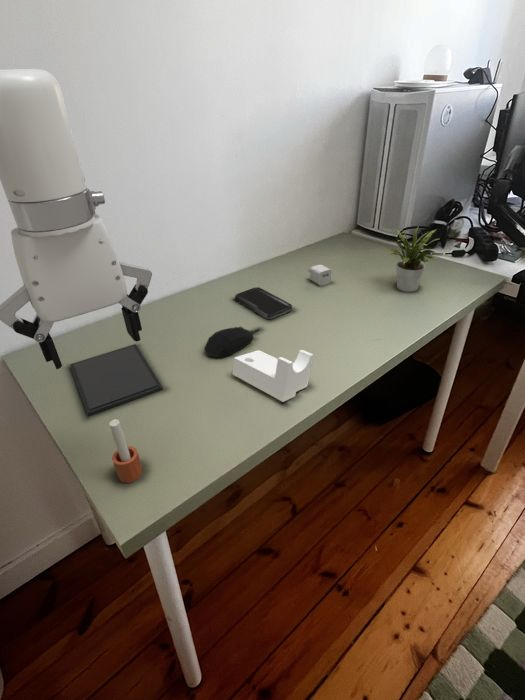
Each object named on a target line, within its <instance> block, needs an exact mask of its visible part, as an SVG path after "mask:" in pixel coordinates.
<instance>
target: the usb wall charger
mask: <svg viewBox="0 0 525 700" xmlns="http://www.w3.org/2000/svg"><path fill="white" fill-rule="evenodd" d="M307 272H308V273H310V274H309V280H310V281H312V282H314V283H315V284H317V285H319V286H321V287H322V286H325V285H327V284H330V283H331V282H332V272H333V271H332V269H331V268H329V267H327V266H325V265H323V264H320V263H319V264H317V265H313V266H311V267H310V269H309V268H307Z"/></svg>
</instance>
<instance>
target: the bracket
mask: <svg viewBox="0 0 525 700" xmlns="http://www.w3.org/2000/svg"><path fill="white" fill-rule="evenodd" d="M313 360H314V354H313V353H311V352H309V351H306V350H304V349H300V350H299V351H298V354H297V357H296V359H295V360H294V361H291V360H289V359H287V358H285V357H283V356H279V357H278V358H276V357H274V356H273V355H270V354H268V353H266V352H264V351H262V350H260V349H258V350H253V351H250V352H248V353H245V354H241V355H238V356H235V357H233V364H232V372H231V374H232V375H233V376H235V377H236V378H238V379H240V380H241V381H243V382H245V383H247V384H249V385H251V386H252V387H255V388H256V389H259V390H260V391H262V392H264V393H265V394H268V395H269V396H271V397H273V398H275V399H277V400H278V401H281V402H282V403H284V402H286V401H289V400H290V399H293V398H294V397H296V393H297V392H299V391H300V390H303V389H305V388H308V387H309V381H310V375H311V372H312V371H311V370H312V367H313V366H312V365H313Z"/></svg>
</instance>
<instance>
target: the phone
mask: <svg viewBox="0 0 525 700" xmlns="http://www.w3.org/2000/svg"><path fill="white" fill-rule="evenodd" d="M234 299H235V301H236V302H238V303H239V304H241V305H243V306H245V308H248V309H249V310H250V311H253V312H254V313H256V314H257V315H259V316H261V317H262V318H264V319H266V320H274V319H276V318H278V317H281V316H282V315H285V314H288V313H290V312H292V310H293V305H292V304H291V303H289V302H287V301H286V300H283V299H282V298H280V297H278V296H276V295H275V294H272V293H270V292H269V291H267V290H265V289H263V288H261V287H259V286H256V287H251V288H250V289H247V290H244V291H241V292H239V293H236V294H235V295H234Z"/></svg>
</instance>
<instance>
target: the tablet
mask: <svg viewBox="0 0 525 700" xmlns="http://www.w3.org/2000/svg"><path fill="white" fill-rule="evenodd" d="M69 366H70V370H71V372H72V374H73V378H74V381H75V383H76V387H77V389H78V392H79V394H80V398H81V400H82V401H81V402H82V403H83V406H84V409H85V413H86V415H87V417H91V416H94V415H96V414H99V413H102V412H105V411H108V410H110V409H113V408H115V407H118V406H121V405H123V404H127V403H129V402H133V401H135V400H138V399H140V398H143V397H146V396H149V395H153V394H154V393H158V392H160V391H163V388H164V387H163V386H162V384H161V382H160V381H159V379H158V377H157V376H156V374H155V372H154V371H153V369H152V368H151V366H150V365H149V363H148V361H147V359H146V358H145V356H144V355H143V353H142V351H141V350H140V348H139V347H138V345H137V344H136V343H134V344H131V345H128V346H124V347H121V348H117V349H115V350H112V351H108V352H105V353H101V354H99V355H95V356H93V357H89V358H86V359H83V360H79V361H76V362H74V363H70V364H69Z"/></svg>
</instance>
